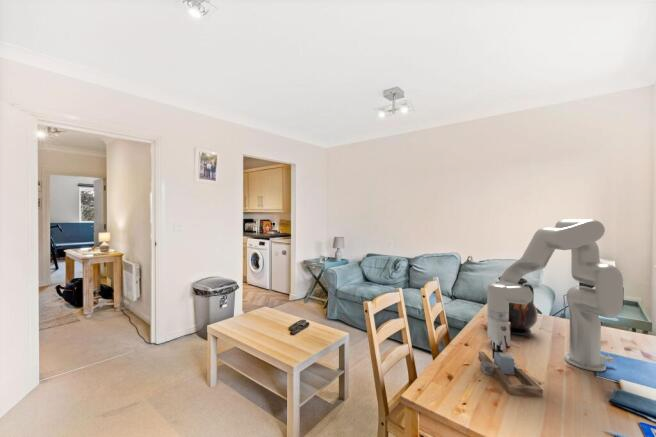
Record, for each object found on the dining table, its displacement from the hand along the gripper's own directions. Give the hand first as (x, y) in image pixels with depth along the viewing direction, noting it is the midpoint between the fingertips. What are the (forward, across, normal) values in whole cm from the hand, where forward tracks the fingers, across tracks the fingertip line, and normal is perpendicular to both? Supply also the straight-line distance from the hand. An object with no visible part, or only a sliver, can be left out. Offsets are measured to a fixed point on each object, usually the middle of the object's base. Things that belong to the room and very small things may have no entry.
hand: (497, 359), depth 114 cm
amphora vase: (+2, +38, -24) cm, 45 cm away
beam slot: (+2, -7, +2) cm, 8 cm away
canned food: (+2, +20, -10) cm, 22 cm away
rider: (+2, -5, 0) cm, 6 cm away
